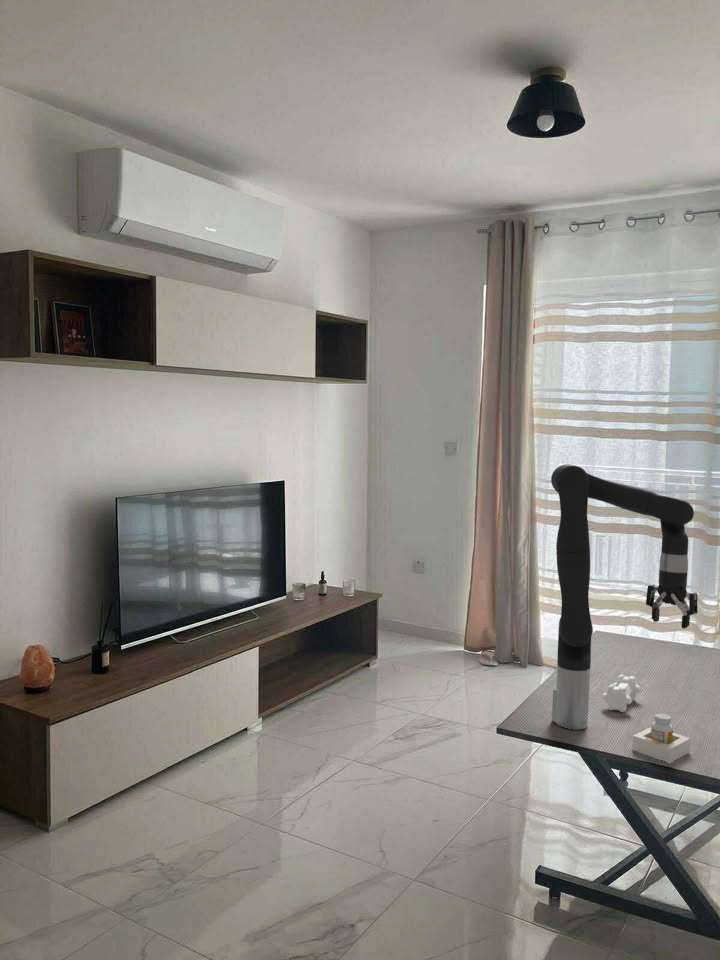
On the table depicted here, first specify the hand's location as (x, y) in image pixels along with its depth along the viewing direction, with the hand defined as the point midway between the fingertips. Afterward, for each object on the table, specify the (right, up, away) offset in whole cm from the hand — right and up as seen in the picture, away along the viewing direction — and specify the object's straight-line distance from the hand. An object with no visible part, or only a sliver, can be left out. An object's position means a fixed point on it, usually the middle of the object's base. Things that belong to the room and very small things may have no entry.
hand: (670, 624), depth 228 cm
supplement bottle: (-8, -32, -15) cm, 36 cm away
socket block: (-8, -31, -15) cm, 35 cm away
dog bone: (-8, -29, +20) cm, 36 cm away
